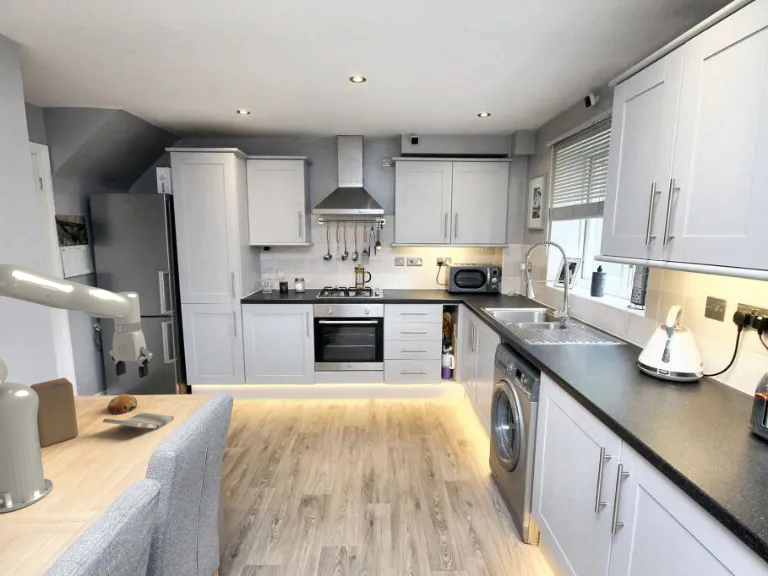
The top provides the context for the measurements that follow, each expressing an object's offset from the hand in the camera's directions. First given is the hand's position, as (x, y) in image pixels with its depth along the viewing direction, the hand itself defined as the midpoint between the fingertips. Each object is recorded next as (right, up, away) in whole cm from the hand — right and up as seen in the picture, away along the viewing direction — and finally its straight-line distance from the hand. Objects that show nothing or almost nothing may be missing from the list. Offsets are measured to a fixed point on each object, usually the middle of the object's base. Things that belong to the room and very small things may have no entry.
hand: (132, 375), depth 133 cm
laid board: (-1, -21, +12) cm, 24 cm away
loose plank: (-3, -19, +4) cm, 19 cm away
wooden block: (-27, -22, 0) cm, 35 cm away
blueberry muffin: (-19, -20, +23) cm, 36 cm away
